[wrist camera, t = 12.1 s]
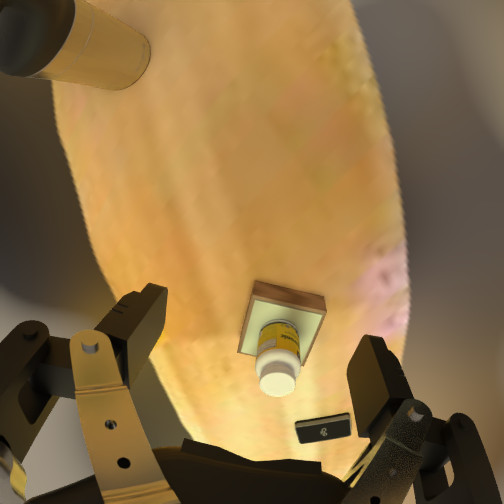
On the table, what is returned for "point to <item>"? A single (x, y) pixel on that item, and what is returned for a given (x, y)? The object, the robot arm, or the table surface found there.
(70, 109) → the table surface
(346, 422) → the external hard drive
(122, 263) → the table surface
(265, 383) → the supplement bottle
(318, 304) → the pedestal
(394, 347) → the table surface
